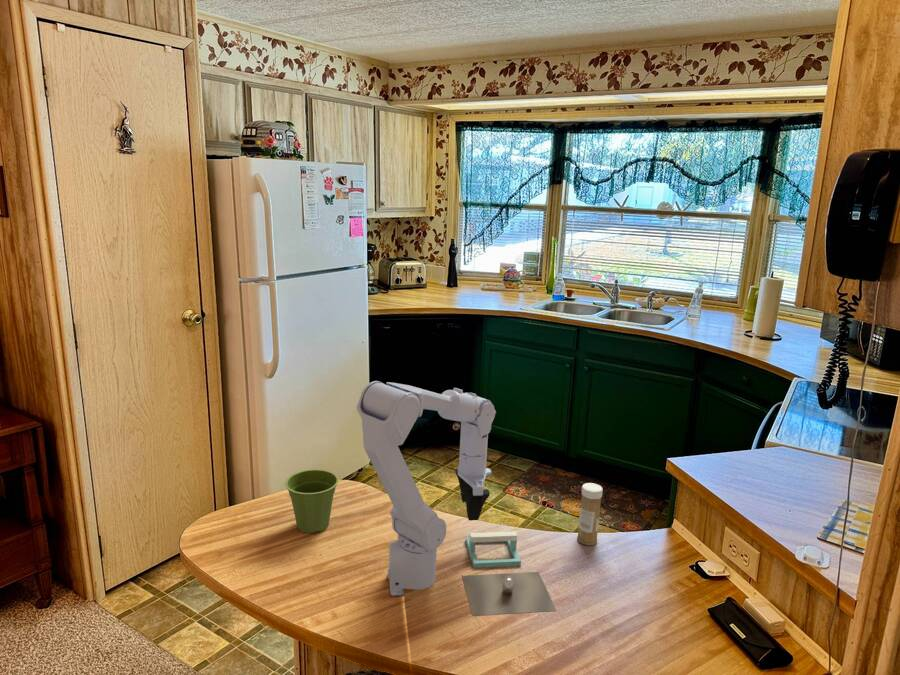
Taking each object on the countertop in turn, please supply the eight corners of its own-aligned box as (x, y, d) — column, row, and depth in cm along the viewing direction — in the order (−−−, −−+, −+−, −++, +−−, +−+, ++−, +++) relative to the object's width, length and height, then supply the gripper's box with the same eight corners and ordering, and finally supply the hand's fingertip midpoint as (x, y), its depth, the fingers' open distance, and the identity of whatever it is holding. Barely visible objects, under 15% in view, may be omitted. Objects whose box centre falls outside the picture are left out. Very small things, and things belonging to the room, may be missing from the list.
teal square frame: (473, 571, 127) (474, 548, 126) (465, 544, 137) (466, 522, 135) (520, 569, 129) (522, 546, 127) (509, 542, 138) (510, 521, 137)
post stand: (472, 620, 113) (473, 601, 112) (461, 580, 124) (462, 562, 123) (556, 615, 115) (558, 596, 114) (538, 576, 127) (539, 558, 126)
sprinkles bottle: (601, 542, 140) (607, 488, 137) (586, 548, 137) (592, 493, 134) (586, 533, 144) (592, 480, 140) (572, 538, 141) (577, 484, 138)
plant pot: (289, 512, 147) (289, 469, 144) (340, 511, 148) (340, 468, 145) (282, 540, 135) (281, 493, 133) (336, 539, 137) (336, 493, 134)
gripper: (499, 466, 122) (495, 527, 126) (485, 437, 136) (481, 493, 140) (464, 466, 121) (461, 528, 125) (453, 437, 135) (450, 494, 138)
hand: (469, 510), depth 132 cm, fingers open, 7 cm apart
